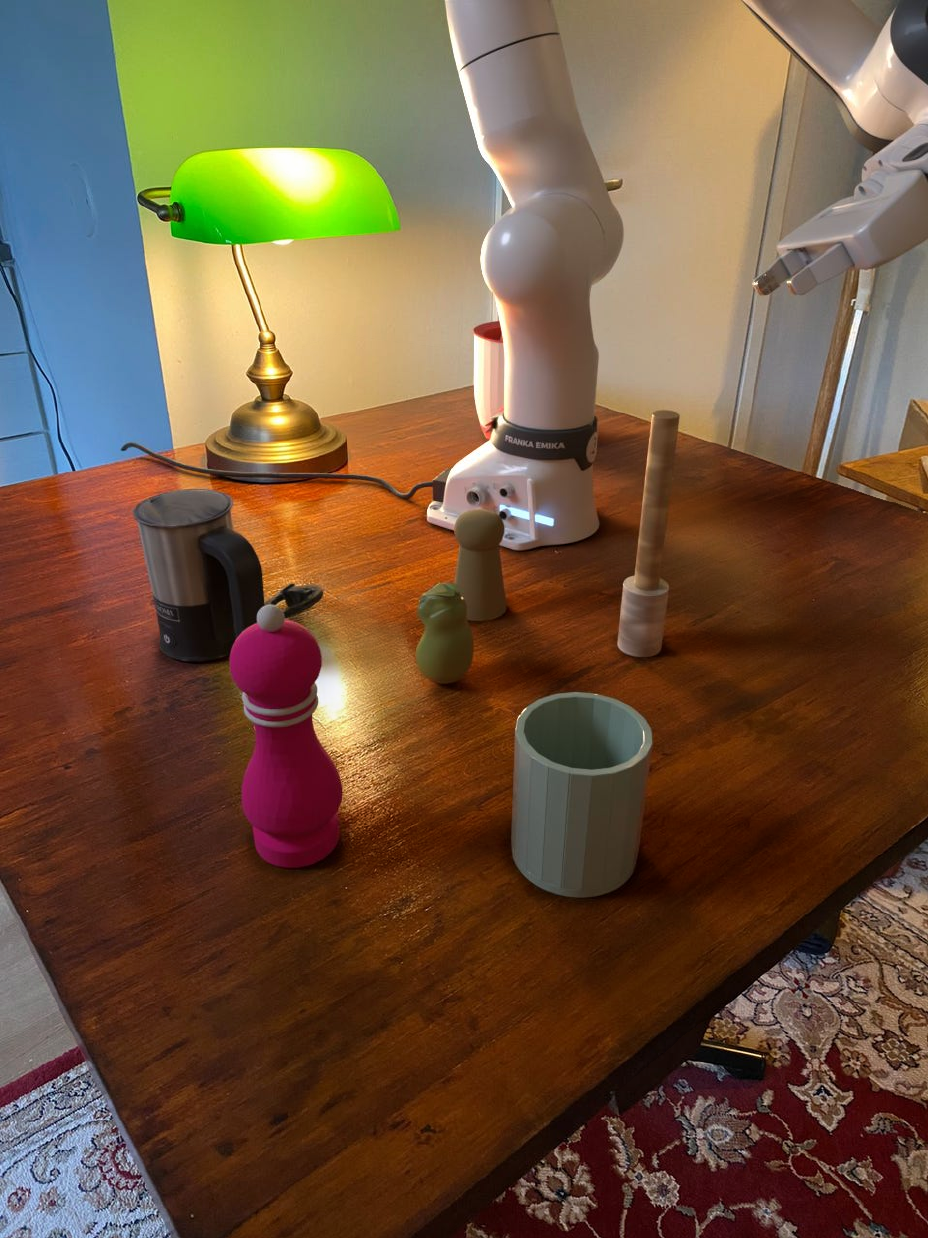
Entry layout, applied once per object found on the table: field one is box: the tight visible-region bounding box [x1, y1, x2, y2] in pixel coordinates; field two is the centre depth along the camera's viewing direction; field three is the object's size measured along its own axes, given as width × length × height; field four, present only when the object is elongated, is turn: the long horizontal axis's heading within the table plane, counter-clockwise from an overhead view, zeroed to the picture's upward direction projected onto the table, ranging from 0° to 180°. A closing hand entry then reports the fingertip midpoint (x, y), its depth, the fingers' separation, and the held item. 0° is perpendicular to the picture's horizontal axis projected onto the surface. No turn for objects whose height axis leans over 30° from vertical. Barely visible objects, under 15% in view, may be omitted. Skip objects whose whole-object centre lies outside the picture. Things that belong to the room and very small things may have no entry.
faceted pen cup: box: [510, 691, 654, 899], centre depth 64 cm, size 9×9×11 cm
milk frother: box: [131, 488, 324, 663], centre depth 91 cm, size 14×16×15 cm
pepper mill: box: [228, 605, 344, 869], centre depth 63 cm, size 7×7×20 cm
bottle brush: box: [616, 409, 681, 658], centre depth 86 cm, size 4×4×24 cm
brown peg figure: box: [453, 509, 507, 622], centre depth 96 cm, size 6×6×11 cm
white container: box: [472, 320, 505, 441], centre depth 143 cm, size 16×17×20 cm
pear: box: [414, 582, 475, 685], centre depth 84 cm, size 6×5×10 cm
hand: (773, 289), depth 83 cm, fingers open, 8 cm apart
